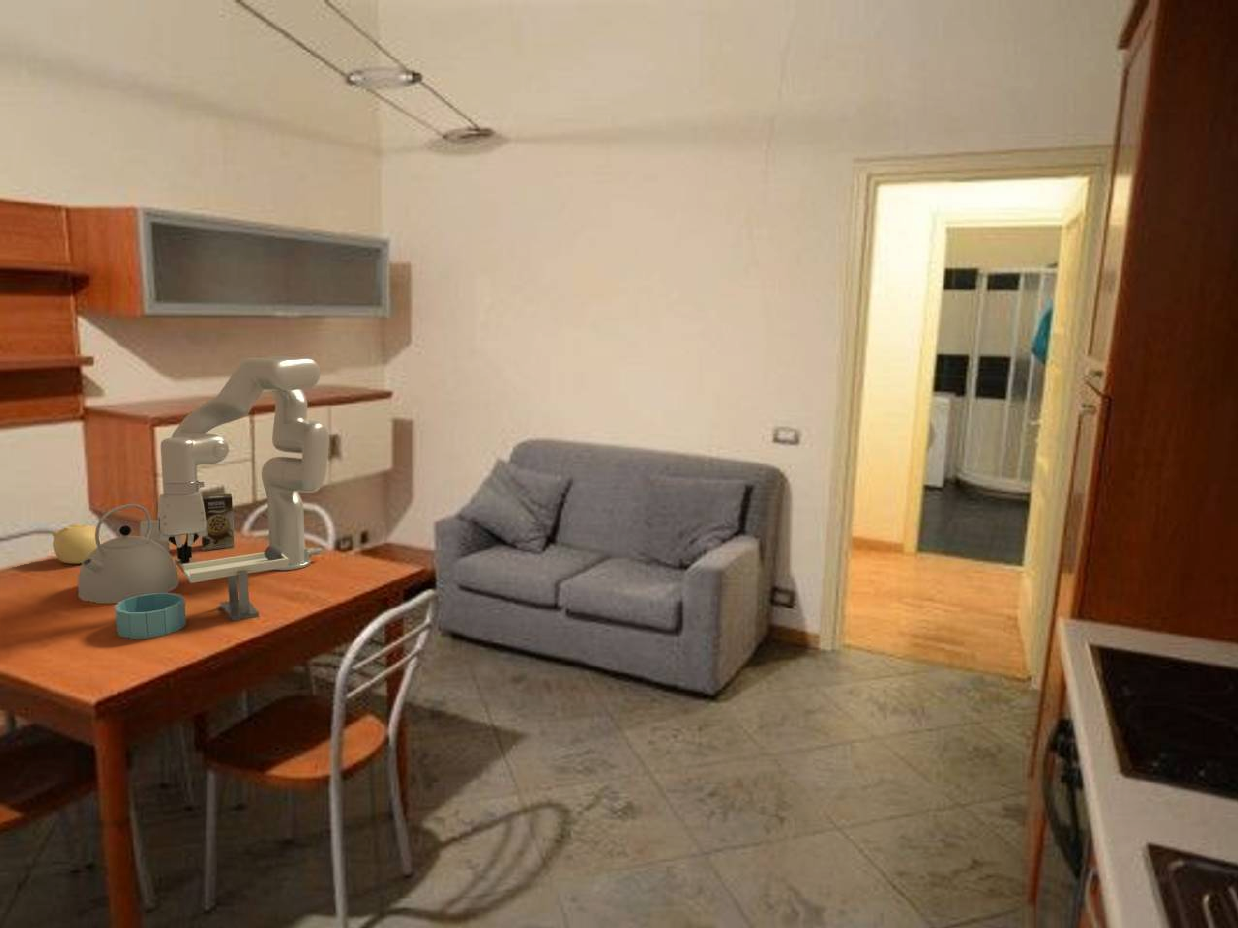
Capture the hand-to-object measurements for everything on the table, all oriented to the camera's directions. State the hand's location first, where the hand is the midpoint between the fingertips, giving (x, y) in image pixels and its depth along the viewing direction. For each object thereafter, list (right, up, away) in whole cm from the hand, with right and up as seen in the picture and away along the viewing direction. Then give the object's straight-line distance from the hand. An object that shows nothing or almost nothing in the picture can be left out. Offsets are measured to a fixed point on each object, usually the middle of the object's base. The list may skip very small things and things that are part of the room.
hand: (184, 561), depth 204 cm
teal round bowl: (-1, -14, -12) cm, 18 cm away
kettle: (-22, -9, +12) cm, 27 cm away
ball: (+21, +2, +2) cm, 21 cm away
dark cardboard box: (-17, -2, +53) cm, 56 cm away
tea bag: (-32, -3, +44) cm, 55 cm away
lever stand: (+14, -12, -1) cm, 18 cm away
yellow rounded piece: (-49, -4, +35) cm, 60 cm away
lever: (+11, -2, +1) cm, 11 cm away
